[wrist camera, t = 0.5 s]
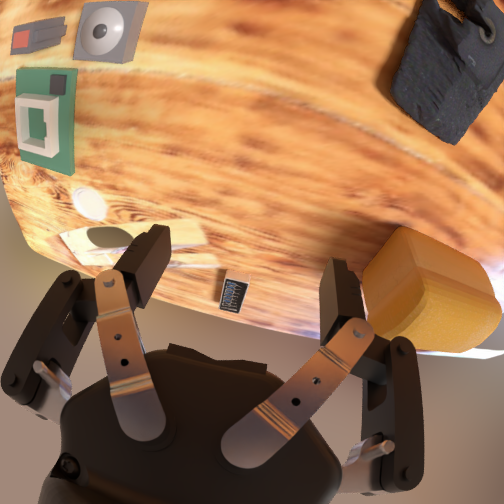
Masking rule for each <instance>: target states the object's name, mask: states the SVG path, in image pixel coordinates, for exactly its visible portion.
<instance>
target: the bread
mask: <svg viewBox="0 0 504 504" xmlns="http://www.w3.org/2000/svg"><path fill="white" fill-rule="evenodd" d="M362 285H363V292H364V298H365V303H366V307H367V311H368V313H369V314H368V318H367V322H369V323H370V324H371V326H372V327H373V329H374V333H375V334H377V335H378V336H380V337H383V338H385V339H388V340H390V341H391V340H392V339H393V338H394V337H396V336H403V337H406V338H408V339H409V340H410V341H411V342H412V343H413V345H414V347H415V348H416V349H423V350H432V351H441V352H451V353H461V352H465V351H467V350H469V349H472V348H474V347H476V346H477V345H479V344H480V343H482V342H483V341H484V340H485V339H486V338H487V337H488V336H489V335H490V334H491V333H492V332H493V331H494V330H495V329H496V327H497V326H498V324H499V322H500V320H501V317H502V309H501V306H500V304H499V302H498V301H497V299H496V298H495V294H494V290H493V287H492V285H491V282H490V280H489V277H488V275H487V273H486V271H485V270H484V268H483V267H482V266H481V264H480V263H479V262H477V261H476V260H474V259H472V258H470V257H469V256H467V255H465V254H463V253H461V252H459V251H457V250H455V249H453V248H451V247H449V246H447V245H445V244H443V243H441V242H439V241H437V240H435V239H433V238H431V237H429V236H427V235H424V234H422V233H420V232H418V231H416V230H413V229H411V228H408V227H404V226H401V227H398V228H397V229H396V230H395V231H394V232H393V234H392V235H391V236H390V238H389V239H388V240H387V242H386V243H385V244H384V245H383V247H382V248H381V249H380V251H379V252H378V253H377V254H376V256H375V257H374V258H373V259H372V261H371V262H370V263H369V264H368V265H367V267H366V268H365V269H364V271H363V276H362Z"/></svg>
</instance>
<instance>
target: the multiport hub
mask: <svg viewBox="0 0 504 504" xmlns="http://www.w3.org/2000/svg"><path fill="white" fill-rule="evenodd" d="M250 278H251V275H250V274H247V273H242V272H238V271H234V270H230V269H228V270H227V271H226V275H225V279H224V284H223V289H222V293H221V298H220V303H219V309H220V310H224V311H229V312H233V313H238V314H239V313H240V311H241V308H242V305H243V302H244V299H245V296H246V293H247V290H248V287H249V284H250Z"/></svg>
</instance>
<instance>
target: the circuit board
mask: <svg viewBox="0 0 504 504" xmlns="http://www.w3.org/2000/svg"><path fill="white" fill-rule="evenodd" d="M77 72H78V69H75V68H55V67H24V68H20V69H17V71H16V97H15V115H16V130H17V140H18V148H19V149H20V156H21V160H22V161H25V162H28V163H31V164H34V165H38V166H41V167H44V168H47V169H50V170H53V171H56V172H59V173H62V174H65V175H68V176H72V175H73V174H74V173H75V166H74V107H75V92H76V81H77Z"/></svg>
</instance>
